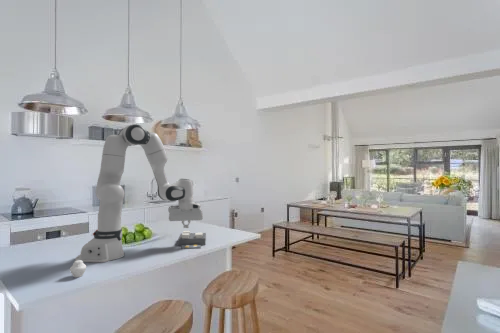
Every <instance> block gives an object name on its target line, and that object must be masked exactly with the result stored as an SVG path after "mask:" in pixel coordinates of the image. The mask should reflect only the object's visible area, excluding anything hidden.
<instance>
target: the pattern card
mask: <svg viewBox="0 0 500 333" xmlns="http://www.w3.org/2000/svg"><path fill="white" fill-rule="evenodd" d="M201 247H202V245H182V246H180V249H181V250H185V249H187V250H189V249H201Z"/></svg>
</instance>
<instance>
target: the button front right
mask: <svg viewBox="0 0 500 333" xmlns="http://www.w3.org/2000/svg"><path fill="white" fill-rule="evenodd" d="M195 233H196V234H195V238H202V233H203V232H195Z"/></svg>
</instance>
